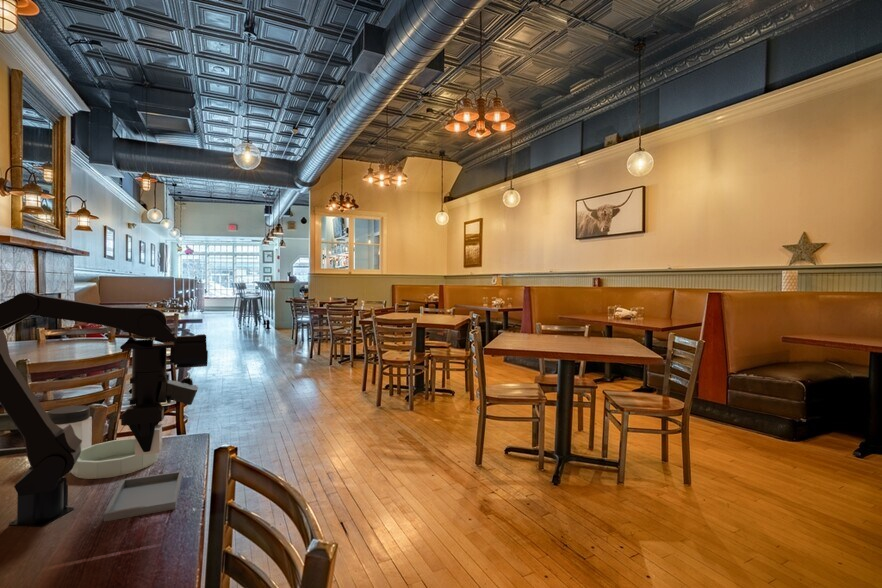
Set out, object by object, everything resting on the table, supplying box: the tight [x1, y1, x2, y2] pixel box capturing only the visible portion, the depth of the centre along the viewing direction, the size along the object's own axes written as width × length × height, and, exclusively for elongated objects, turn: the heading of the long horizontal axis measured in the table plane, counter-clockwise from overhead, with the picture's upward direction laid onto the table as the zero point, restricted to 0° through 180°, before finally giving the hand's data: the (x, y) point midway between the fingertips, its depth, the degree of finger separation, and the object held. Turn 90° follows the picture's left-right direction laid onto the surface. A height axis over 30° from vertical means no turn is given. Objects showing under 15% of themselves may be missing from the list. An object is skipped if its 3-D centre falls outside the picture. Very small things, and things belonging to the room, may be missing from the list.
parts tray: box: [103, 470, 184, 523], centre depth 87 cm, size 16×11×2 cm
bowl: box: [70, 437, 159, 480], centre depth 104 cm, size 16×16×4 cm
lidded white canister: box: [46, 405, 93, 450], centre depth 108 cm, size 9×8×12 cm
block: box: [134, 424, 163, 456], centre depth 88 cm, size 4×4×5 cm
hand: (148, 448), depth 88 cm, fingers closed on block, 4 cm apart
